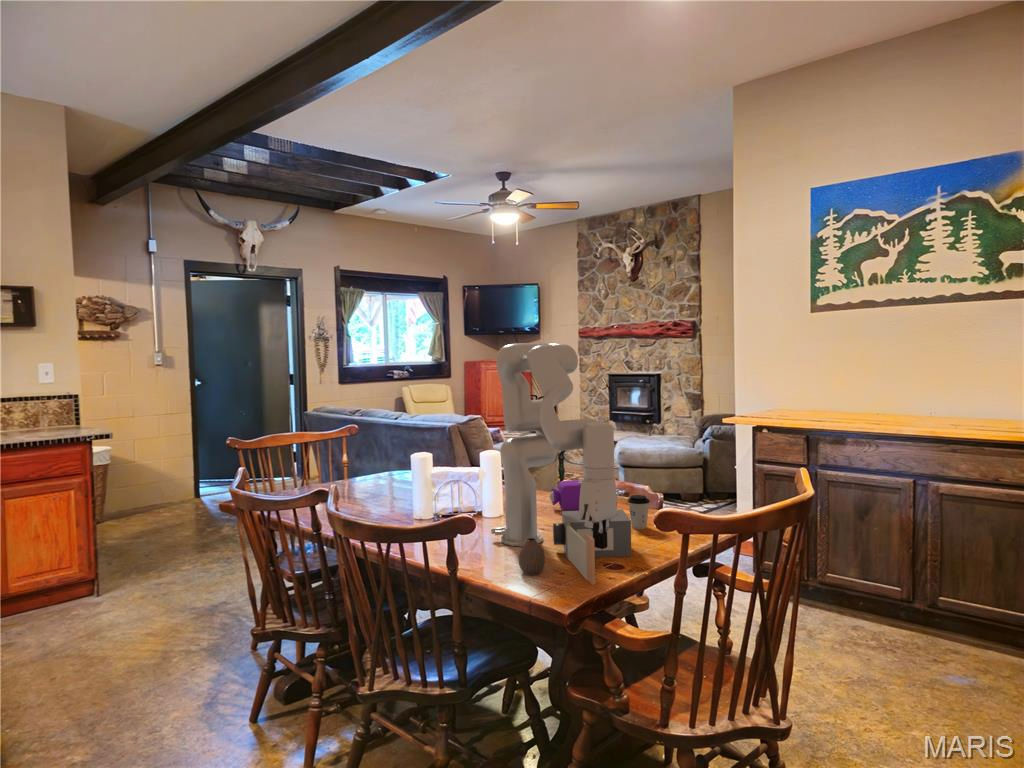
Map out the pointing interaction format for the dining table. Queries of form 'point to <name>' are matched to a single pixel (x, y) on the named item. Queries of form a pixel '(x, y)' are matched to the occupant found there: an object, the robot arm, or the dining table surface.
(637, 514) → the coffee cup
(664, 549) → the dining table surface
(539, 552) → the vase
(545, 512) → the dining table surface
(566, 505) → the toy camera
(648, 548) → the dining table surface
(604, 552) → the camera housing
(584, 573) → the door
